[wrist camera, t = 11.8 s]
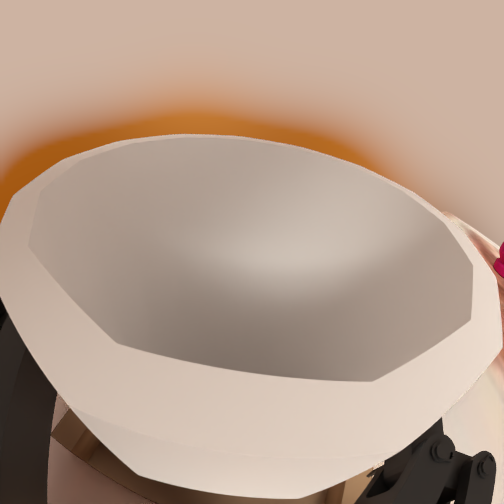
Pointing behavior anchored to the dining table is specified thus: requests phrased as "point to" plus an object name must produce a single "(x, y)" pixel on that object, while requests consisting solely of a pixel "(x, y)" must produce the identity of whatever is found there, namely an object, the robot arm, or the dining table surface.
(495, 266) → the pepper mill
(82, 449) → the end holder
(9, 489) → the robot arm
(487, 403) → the dining table surface
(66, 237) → the foam cup
